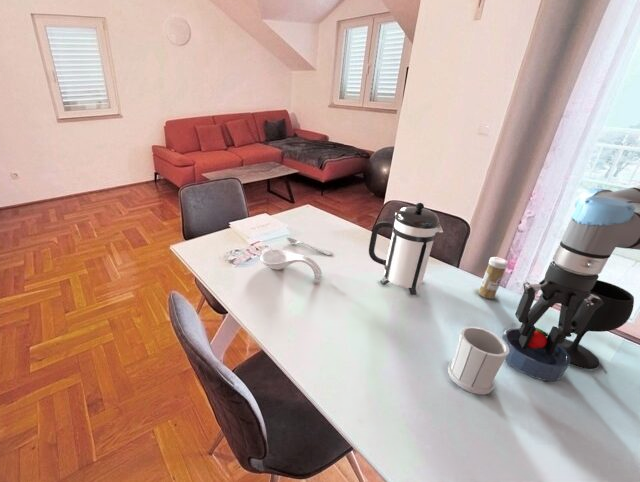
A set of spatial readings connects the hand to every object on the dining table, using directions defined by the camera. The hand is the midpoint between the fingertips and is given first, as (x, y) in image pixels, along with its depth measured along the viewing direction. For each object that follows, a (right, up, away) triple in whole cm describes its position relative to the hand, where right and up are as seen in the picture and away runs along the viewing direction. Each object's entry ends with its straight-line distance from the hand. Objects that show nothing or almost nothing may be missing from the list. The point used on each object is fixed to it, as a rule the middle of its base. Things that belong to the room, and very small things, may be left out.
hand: (534, 347), depth 77 cm
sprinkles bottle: (+9, +6, +26) cm, 28 cm away
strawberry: (-1, 0, 0) cm, 1 cm away
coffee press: (-17, +9, +33) cm, 38 cm away
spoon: (-44, +19, +56) cm, 74 cm away
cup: (-18, -6, -2) cm, 19 cm away
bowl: (0, -4, +2) cm, 4 cm away
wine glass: (+13, -3, +4) cm, 14 cm away
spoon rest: (-54, +12, +40) cm, 69 cm away
